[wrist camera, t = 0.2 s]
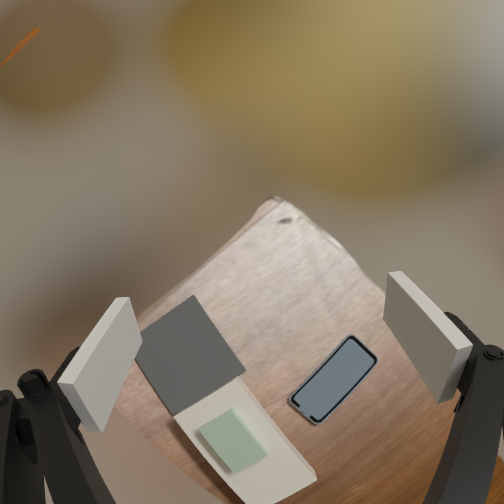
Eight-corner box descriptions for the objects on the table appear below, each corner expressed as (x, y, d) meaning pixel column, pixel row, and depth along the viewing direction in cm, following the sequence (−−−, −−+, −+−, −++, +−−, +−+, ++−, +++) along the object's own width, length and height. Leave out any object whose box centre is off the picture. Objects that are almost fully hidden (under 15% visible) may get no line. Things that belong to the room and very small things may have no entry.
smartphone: (380, 359, 46) (318, 426, 44) (378, 359, 47) (317, 425, 44) (350, 331, 47) (286, 399, 45) (349, 331, 48) (286, 398, 46)
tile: (267, 450, 40) (267, 455, 38) (235, 468, 40) (234, 473, 38) (232, 407, 42) (231, 410, 40) (201, 426, 42) (198, 429, 40)
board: (314, 470, 42) (317, 479, 38) (256, 502, 41) (254, 512, 37) (238, 375, 47) (235, 378, 43) (180, 411, 46) (173, 416, 42)
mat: (245, 370, 47) (245, 370, 47) (173, 415, 46) (172, 415, 46) (194, 295, 51) (193, 294, 51) (126, 342, 50) (125, 342, 49)
